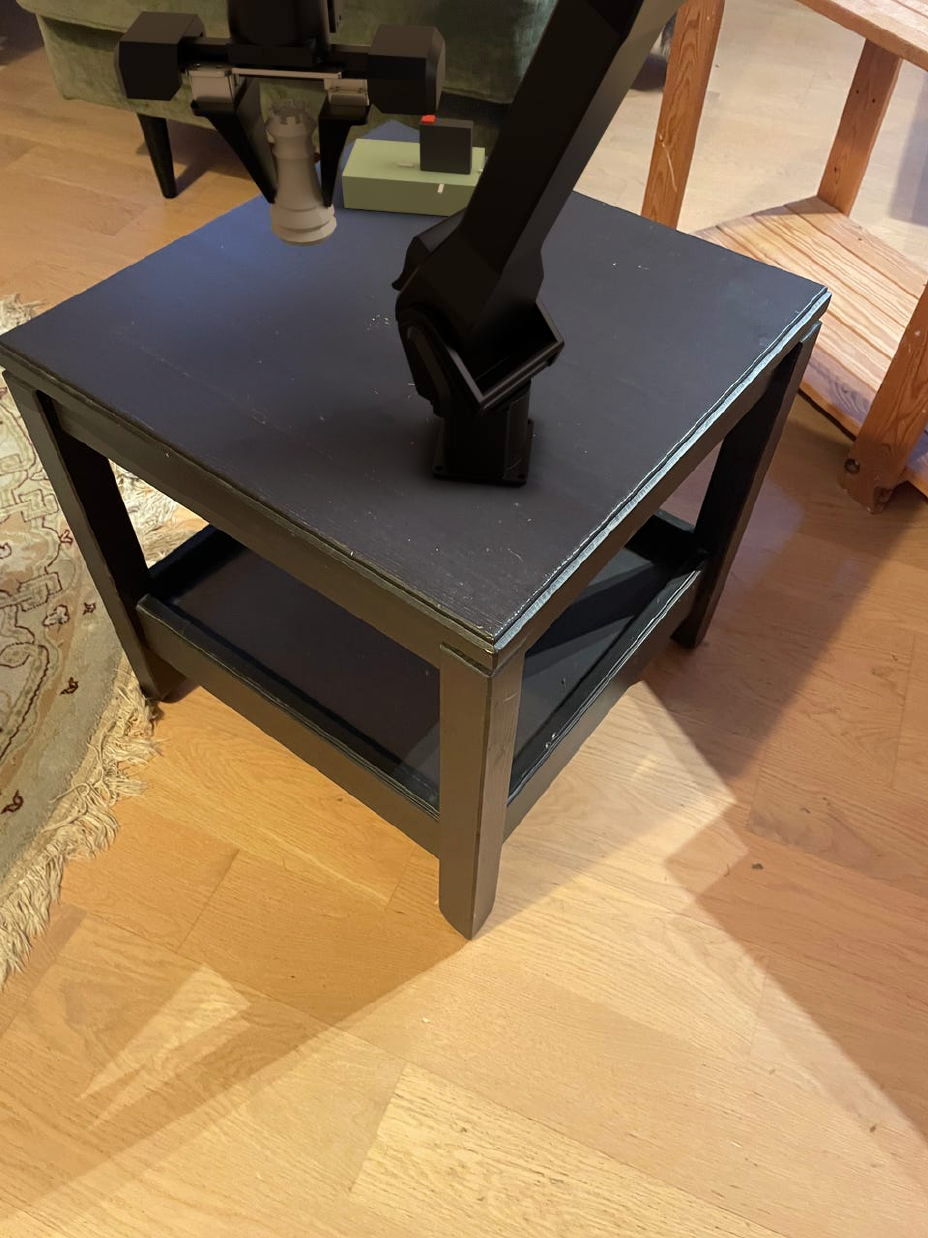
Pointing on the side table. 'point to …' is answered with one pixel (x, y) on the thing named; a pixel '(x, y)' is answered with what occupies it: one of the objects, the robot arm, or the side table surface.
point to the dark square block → (445, 145)
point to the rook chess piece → (297, 178)
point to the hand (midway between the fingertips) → (301, 202)
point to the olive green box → (404, 180)
